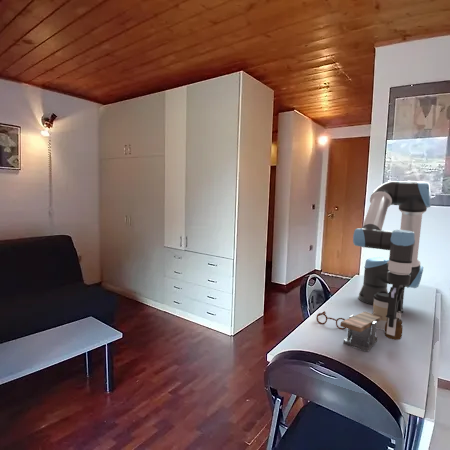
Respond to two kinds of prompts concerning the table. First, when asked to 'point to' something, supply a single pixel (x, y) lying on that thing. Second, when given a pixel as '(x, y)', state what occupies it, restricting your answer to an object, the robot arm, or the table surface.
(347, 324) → the beam
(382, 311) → the coffee cup
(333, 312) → the table surface
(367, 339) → the stand
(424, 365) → the table surface
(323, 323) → the glasses
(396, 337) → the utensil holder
